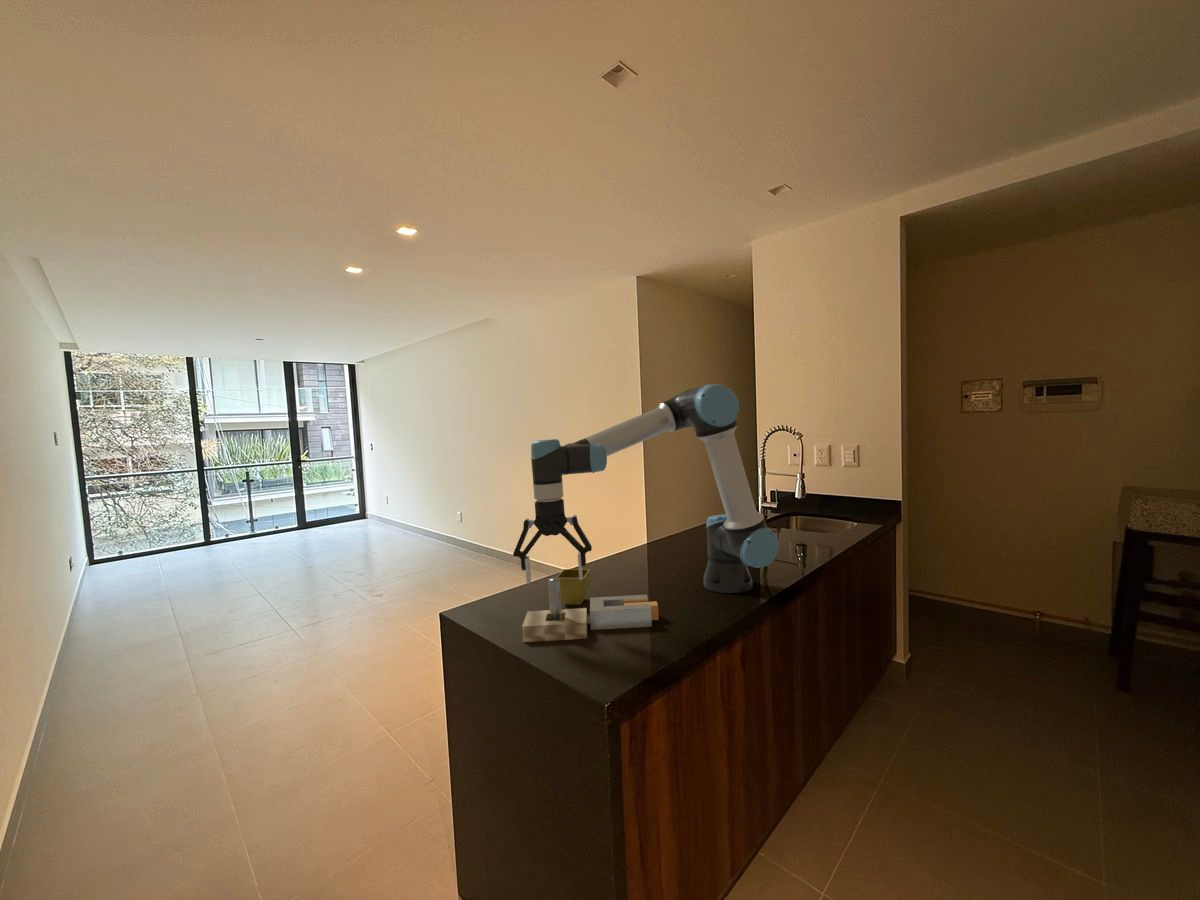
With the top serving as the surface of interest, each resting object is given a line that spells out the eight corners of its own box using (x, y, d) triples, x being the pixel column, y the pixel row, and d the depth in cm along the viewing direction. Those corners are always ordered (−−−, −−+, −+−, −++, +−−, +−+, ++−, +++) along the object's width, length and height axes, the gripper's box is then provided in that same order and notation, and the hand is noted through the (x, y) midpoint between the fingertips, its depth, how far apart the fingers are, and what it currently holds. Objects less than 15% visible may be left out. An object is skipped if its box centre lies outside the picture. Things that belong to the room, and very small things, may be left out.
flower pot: (585, 608, 140) (583, 577, 140) (556, 607, 142) (555, 577, 142) (591, 597, 149) (590, 569, 148) (564, 596, 150) (563, 568, 150)
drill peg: (563, 629, 126) (559, 576, 125) (562, 633, 123) (559, 580, 122) (551, 629, 126) (548, 577, 125) (550, 634, 123) (547, 581, 122)
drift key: (657, 615, 131) (656, 601, 131) (658, 619, 128) (657, 605, 128) (624, 617, 131) (623, 603, 131) (625, 621, 128) (624, 607, 128)
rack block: (587, 622, 129) (586, 608, 129) (586, 638, 119) (586, 622, 119) (528, 625, 129) (527, 611, 129) (523, 642, 119) (522, 626, 119)
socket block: (647, 611, 135) (646, 594, 134) (651, 626, 125) (650, 607, 124) (591, 615, 134) (590, 597, 134) (590, 629, 124) (589, 611, 124)
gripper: (597, 494, 127) (602, 572, 128) (503, 500, 126) (509, 579, 127) (597, 498, 119) (603, 581, 120) (497, 505, 119) (504, 588, 120)
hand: (555, 580), depth 124 cm, fingers open, 13 cm apart
